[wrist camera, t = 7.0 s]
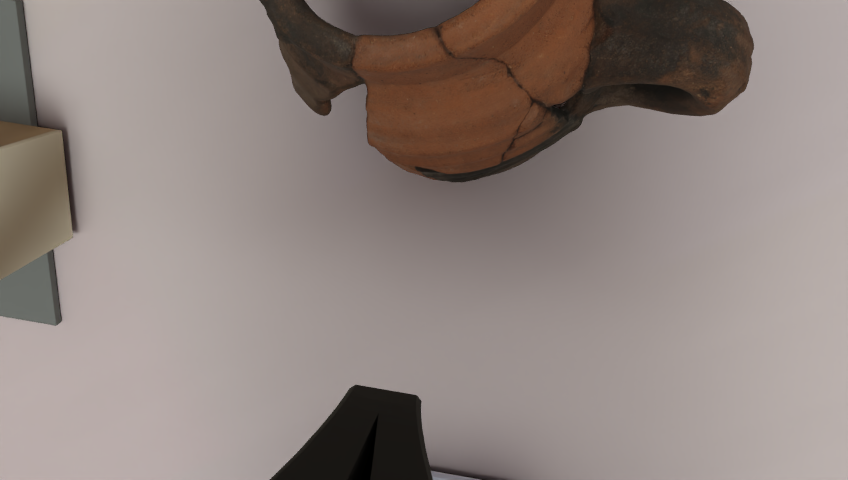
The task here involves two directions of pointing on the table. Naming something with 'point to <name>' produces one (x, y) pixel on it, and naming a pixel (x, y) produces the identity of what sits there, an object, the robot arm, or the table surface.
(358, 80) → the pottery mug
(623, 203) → the table surface
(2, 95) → the rubber mat
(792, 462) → the table surface
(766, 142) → the table surface
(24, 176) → the walnut block
